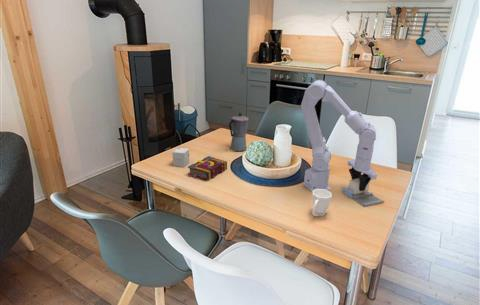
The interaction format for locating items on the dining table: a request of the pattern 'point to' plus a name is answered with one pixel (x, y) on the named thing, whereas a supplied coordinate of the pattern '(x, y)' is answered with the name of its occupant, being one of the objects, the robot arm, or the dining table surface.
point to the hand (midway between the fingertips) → (358, 187)
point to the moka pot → (238, 132)
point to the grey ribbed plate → (363, 198)
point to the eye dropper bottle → (325, 142)
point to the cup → (321, 201)
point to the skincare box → (180, 157)
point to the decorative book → (207, 168)
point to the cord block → (357, 186)
